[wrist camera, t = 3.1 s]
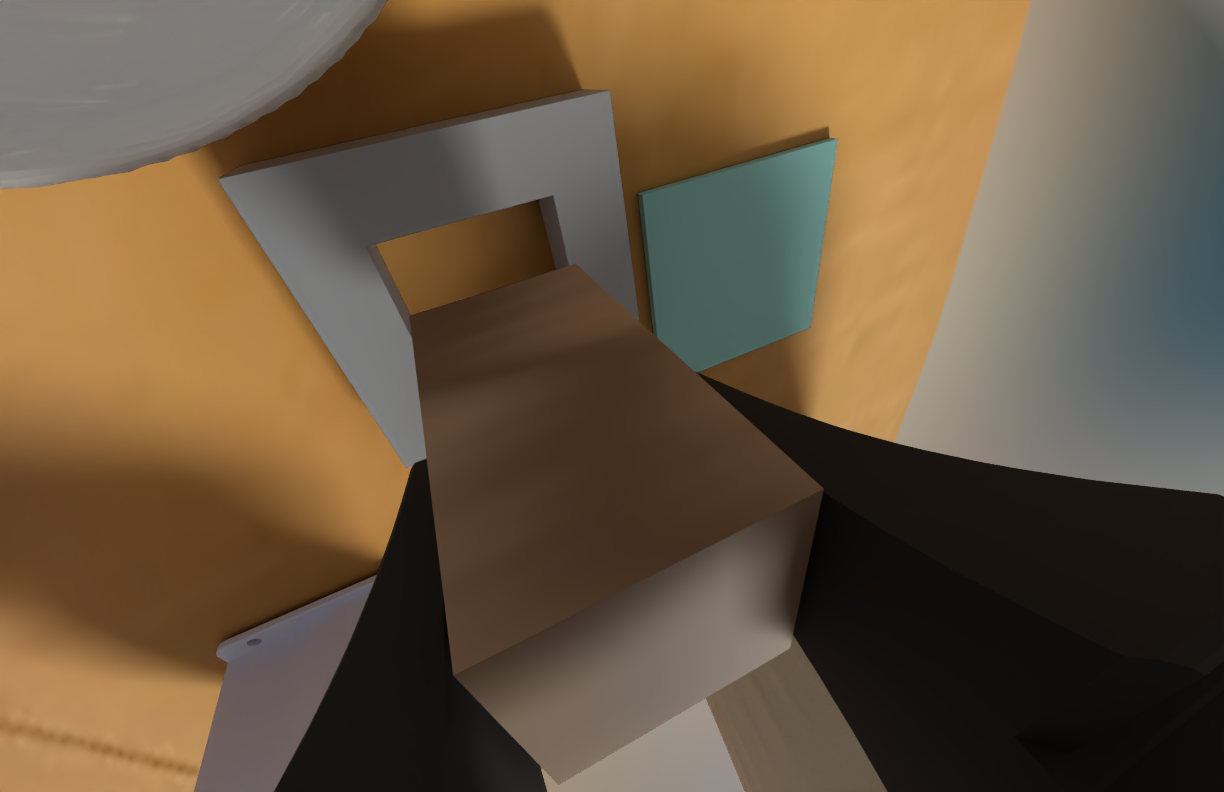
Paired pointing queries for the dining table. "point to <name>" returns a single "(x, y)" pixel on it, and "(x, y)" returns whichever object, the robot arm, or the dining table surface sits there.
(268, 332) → the dining table surface
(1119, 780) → the robot arm
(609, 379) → the walnut block
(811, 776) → the canister
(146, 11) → the cereal bowl
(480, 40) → the dining table surface
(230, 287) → the dining table surface
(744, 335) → the mat
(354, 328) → the pocket plate
